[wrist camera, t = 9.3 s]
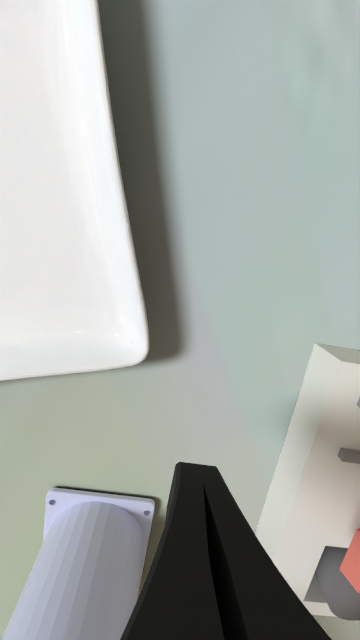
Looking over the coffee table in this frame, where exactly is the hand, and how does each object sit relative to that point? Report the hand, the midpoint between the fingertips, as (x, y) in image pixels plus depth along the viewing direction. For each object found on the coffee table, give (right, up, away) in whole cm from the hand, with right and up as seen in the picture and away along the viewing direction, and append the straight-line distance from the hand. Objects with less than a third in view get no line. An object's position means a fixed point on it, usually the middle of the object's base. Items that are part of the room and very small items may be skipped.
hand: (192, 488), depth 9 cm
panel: (+13, -7, +12) cm, 19 cm away
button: (+12, -12, +13) cm, 21 cm away
